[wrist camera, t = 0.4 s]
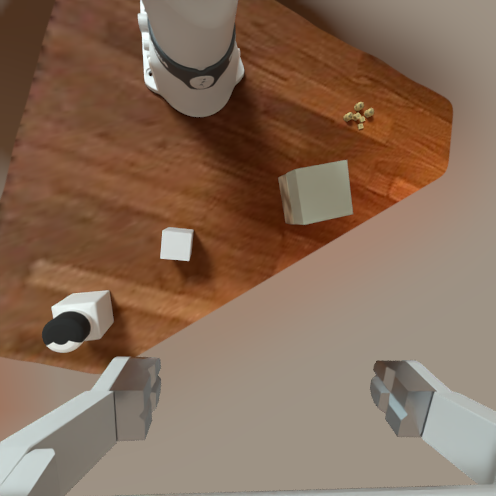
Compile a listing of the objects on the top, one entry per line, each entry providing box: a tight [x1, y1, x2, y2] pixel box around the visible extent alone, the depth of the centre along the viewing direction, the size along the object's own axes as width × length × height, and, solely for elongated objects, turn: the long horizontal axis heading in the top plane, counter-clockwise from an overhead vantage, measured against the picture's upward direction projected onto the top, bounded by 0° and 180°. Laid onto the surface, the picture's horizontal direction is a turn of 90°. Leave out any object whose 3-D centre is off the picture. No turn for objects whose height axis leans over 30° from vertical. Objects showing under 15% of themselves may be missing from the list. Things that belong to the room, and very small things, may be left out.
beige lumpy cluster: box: [343, 102, 374, 129], centre depth 54 cm, size 5×5×2 cm
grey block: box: [160, 227, 194, 261], centre depth 48 cm, size 5×5×8 cm
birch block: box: [278, 174, 294, 224], centre depth 53 cm, size 10×10×5 cm
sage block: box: [286, 160, 353, 225], centre depth 48 cm, size 10×10×5 cm
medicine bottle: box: [42, 290, 114, 353], centre depth 45 cm, size 7×7×12 cm
